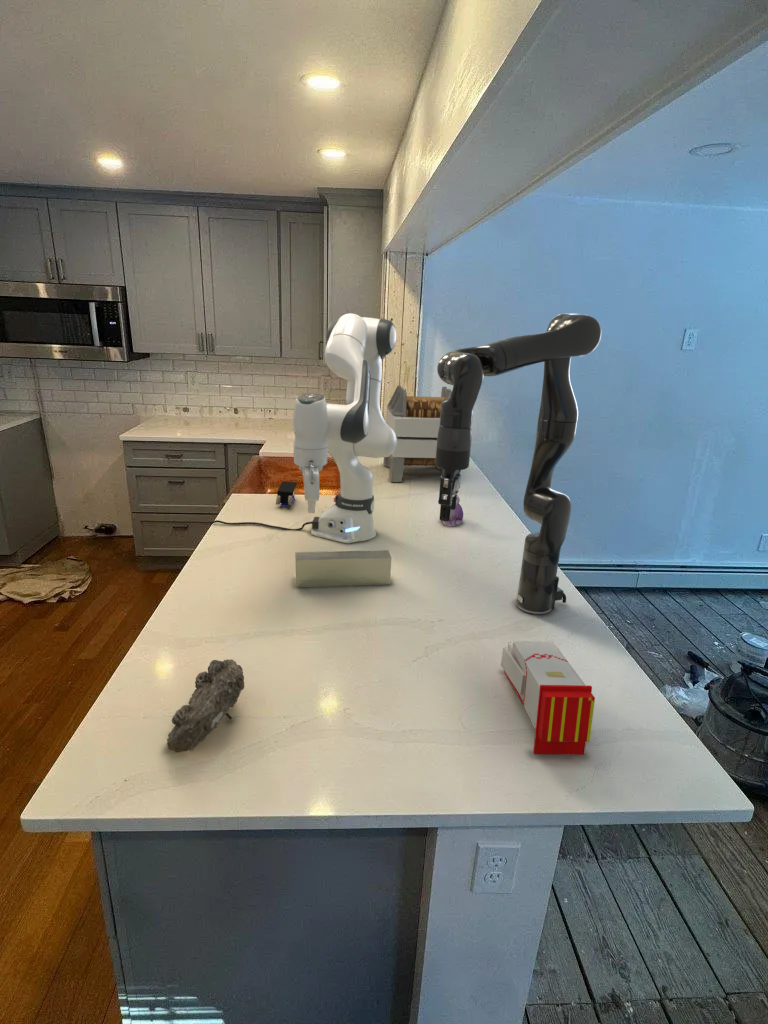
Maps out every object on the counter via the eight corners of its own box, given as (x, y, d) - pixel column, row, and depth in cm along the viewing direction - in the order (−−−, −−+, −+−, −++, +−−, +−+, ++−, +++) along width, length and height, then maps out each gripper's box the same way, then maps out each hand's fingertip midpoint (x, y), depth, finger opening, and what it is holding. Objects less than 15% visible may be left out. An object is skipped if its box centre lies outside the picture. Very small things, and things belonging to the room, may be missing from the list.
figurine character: (293, 513, 218) (297, 497, 231) (292, 495, 215) (297, 480, 228) (275, 513, 218) (281, 496, 231) (274, 495, 214) (280, 479, 228)
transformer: (382, 463, 289) (386, 382, 275) (445, 464, 293) (451, 384, 279) (390, 482, 257) (394, 392, 243) (460, 483, 261) (468, 394, 247)
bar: (295, 587, 159) (295, 560, 156) (295, 578, 164) (295, 552, 161) (390, 584, 163) (391, 557, 160) (387, 575, 168) (388, 549, 165)
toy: (549, 624, 127) (604, 693, 98) (544, 678, 130) (596, 762, 100) (496, 622, 127) (535, 692, 97) (491, 677, 129) (528, 761, 100)
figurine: (448, 528, 206) (452, 489, 201) (433, 519, 215) (436, 481, 210) (470, 525, 210) (473, 486, 205) (454, 516, 219) (457, 479, 214)
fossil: (192, 660, 117) (244, 628, 112) (224, 691, 120) (276, 661, 115) (142, 746, 98) (202, 712, 93) (182, 779, 101) (242, 748, 96)
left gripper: (325, 467, 140) (324, 519, 145) (320, 447, 159) (320, 494, 164) (299, 467, 139) (299, 519, 144) (297, 447, 158) (298, 494, 163)
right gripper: (466, 454, 118) (459, 527, 123) (474, 440, 131) (468, 507, 136) (430, 450, 120) (425, 522, 125) (442, 437, 133) (437, 503, 138)
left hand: (310, 506), depth 154 cm, fingers open, 8 cm apart
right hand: (447, 514), depth 131 cm, fingers open, 8 cm apart
